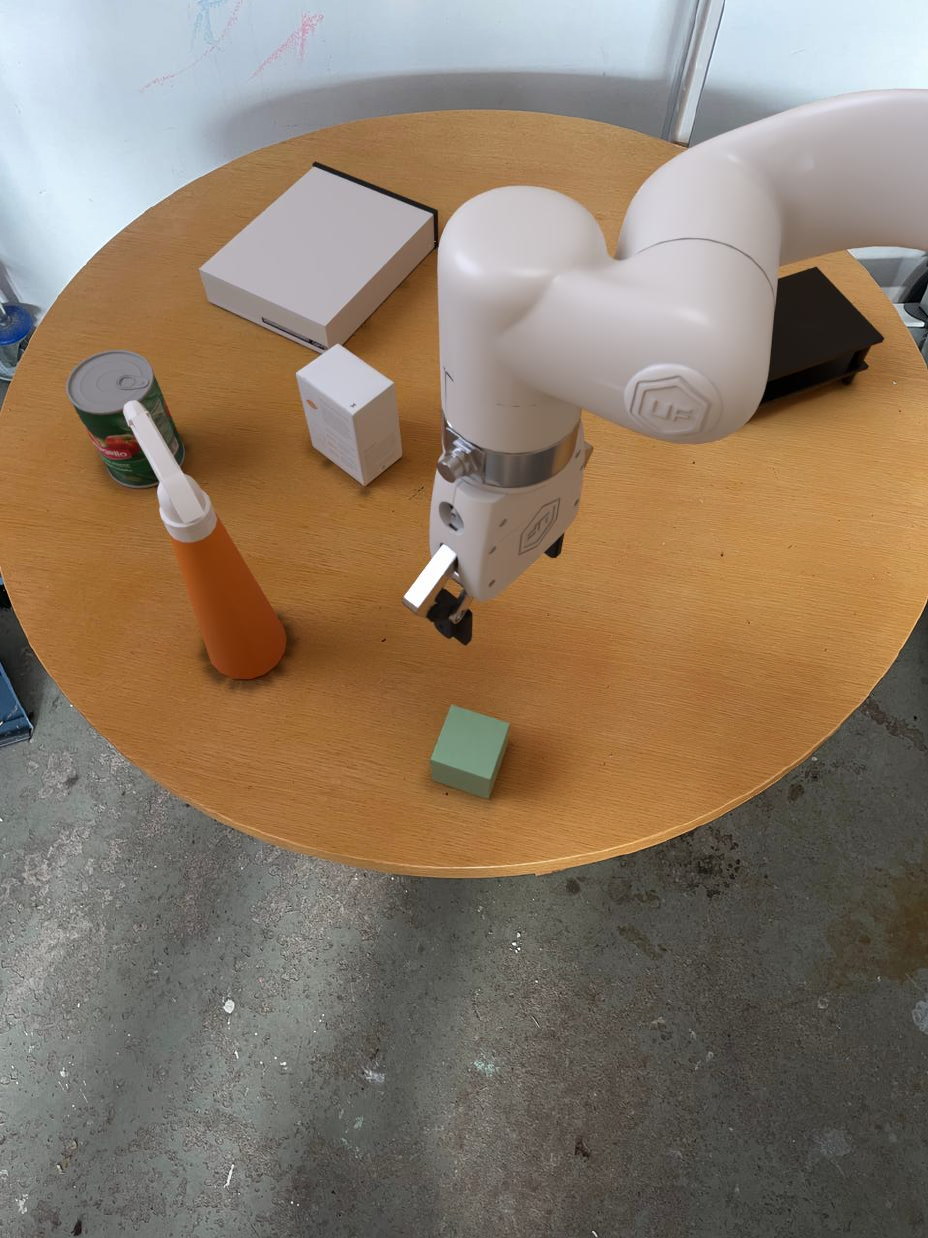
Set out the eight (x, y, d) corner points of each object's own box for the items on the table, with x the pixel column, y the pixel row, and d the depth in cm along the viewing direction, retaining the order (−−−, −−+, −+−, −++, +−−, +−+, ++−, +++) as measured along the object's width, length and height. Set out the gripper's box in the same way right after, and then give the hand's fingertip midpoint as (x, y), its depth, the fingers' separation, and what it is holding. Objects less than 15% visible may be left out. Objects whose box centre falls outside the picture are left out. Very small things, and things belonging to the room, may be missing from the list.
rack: (795, 314, 100) (821, 253, 93) (859, 384, 94) (891, 325, 87) (675, 353, 97) (693, 293, 89) (734, 429, 91) (757, 371, 84)
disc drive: (439, 245, 105) (438, 208, 101) (332, 360, 96) (326, 324, 91) (321, 198, 110) (315, 160, 105) (207, 302, 100) (196, 266, 96)
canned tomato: (98, 487, 87) (54, 410, 77) (117, 427, 91) (77, 347, 81) (177, 490, 87) (142, 413, 77) (192, 430, 91) (161, 350, 81)
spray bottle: (248, 570, 82) (167, 362, 59) (301, 656, 78) (235, 467, 55) (179, 605, 80) (67, 404, 57) (228, 695, 76) (129, 515, 53)
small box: (403, 457, 89) (397, 382, 80) (364, 488, 87) (353, 416, 78) (350, 416, 92) (338, 340, 83) (310, 446, 90) (294, 371, 81)
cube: (507, 745, 74) (510, 723, 69) (488, 799, 71) (490, 779, 67) (451, 727, 74) (451, 704, 70) (431, 780, 72) (430, 759, 68)
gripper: (453, 560, 43) (455, 701, 58) (658, 372, 49) (612, 542, 64) (348, 479, 45) (375, 634, 60) (556, 310, 52) (535, 488, 67)
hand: (498, 587), depth 62 cm, fingers open, 9 cm apart
